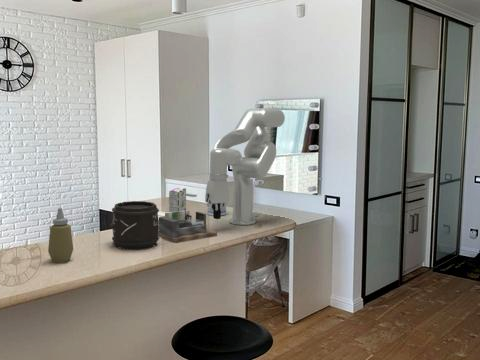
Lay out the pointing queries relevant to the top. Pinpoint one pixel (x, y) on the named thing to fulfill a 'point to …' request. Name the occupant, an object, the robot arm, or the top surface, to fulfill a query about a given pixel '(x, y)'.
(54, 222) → the squeeze bottle
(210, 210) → the supplement tub
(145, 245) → the black round canister
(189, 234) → the force tester
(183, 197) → the candy bar box
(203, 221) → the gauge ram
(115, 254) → the top surface
